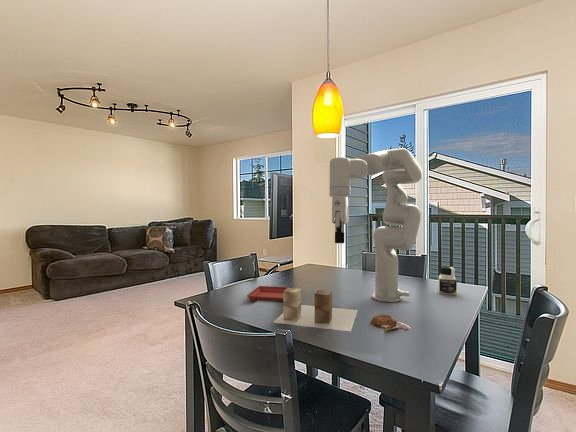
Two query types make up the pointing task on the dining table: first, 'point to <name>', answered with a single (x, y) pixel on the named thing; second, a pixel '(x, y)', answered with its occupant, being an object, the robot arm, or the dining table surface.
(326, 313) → the walnut block
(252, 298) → the red tray
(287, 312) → the maple block
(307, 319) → the slab
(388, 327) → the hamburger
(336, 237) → the robot arm
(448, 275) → the medicine bottle
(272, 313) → the dining table surface
